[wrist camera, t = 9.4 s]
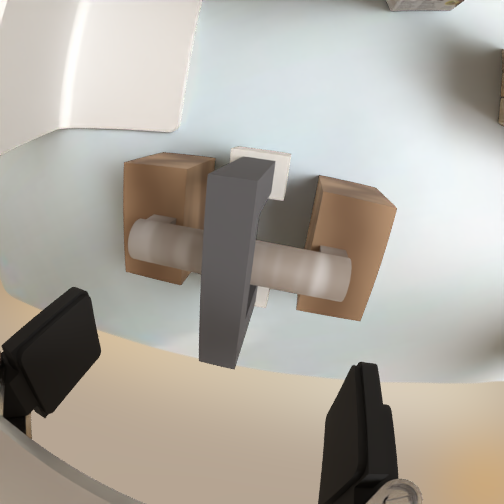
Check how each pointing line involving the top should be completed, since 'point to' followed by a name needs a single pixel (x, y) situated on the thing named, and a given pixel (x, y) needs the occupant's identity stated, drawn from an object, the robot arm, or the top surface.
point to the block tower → (502, 95)
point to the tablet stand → (93, 65)
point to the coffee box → (422, 4)
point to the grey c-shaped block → (234, 248)
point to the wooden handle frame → (265, 254)
